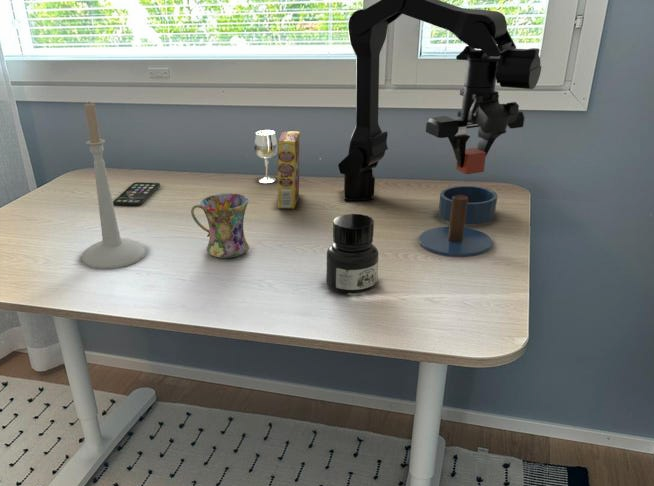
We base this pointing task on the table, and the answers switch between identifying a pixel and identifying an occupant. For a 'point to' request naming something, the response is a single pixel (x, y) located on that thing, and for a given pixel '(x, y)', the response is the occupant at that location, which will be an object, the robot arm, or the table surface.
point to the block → (473, 161)
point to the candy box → (288, 169)
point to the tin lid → (456, 234)
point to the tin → (470, 203)
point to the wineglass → (266, 150)
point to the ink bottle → (352, 255)
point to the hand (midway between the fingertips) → (470, 165)
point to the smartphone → (136, 193)
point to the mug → (224, 224)
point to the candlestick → (107, 211)
